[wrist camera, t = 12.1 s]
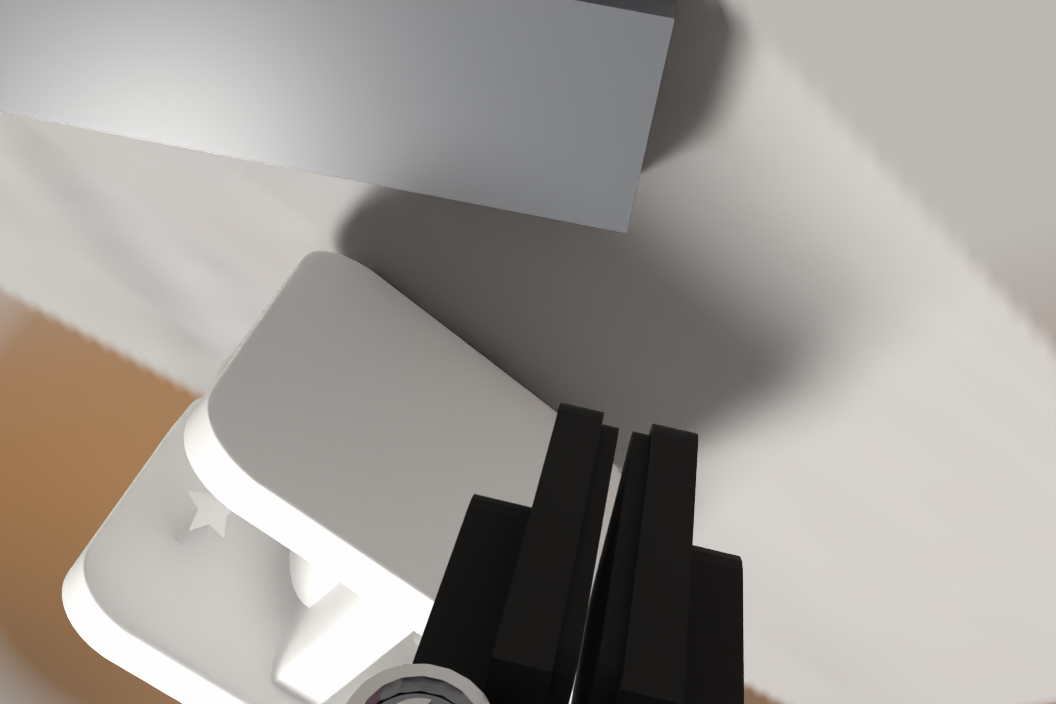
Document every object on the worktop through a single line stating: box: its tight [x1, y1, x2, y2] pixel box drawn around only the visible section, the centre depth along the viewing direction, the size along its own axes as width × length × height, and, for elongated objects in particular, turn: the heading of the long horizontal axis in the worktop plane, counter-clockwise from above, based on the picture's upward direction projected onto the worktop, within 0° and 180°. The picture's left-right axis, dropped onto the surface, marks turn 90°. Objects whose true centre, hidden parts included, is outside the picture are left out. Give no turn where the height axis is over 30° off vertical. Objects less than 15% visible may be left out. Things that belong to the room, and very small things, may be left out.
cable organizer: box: [62, 251, 621, 704], centre depth 34 cm, size 15×11×12 cm
